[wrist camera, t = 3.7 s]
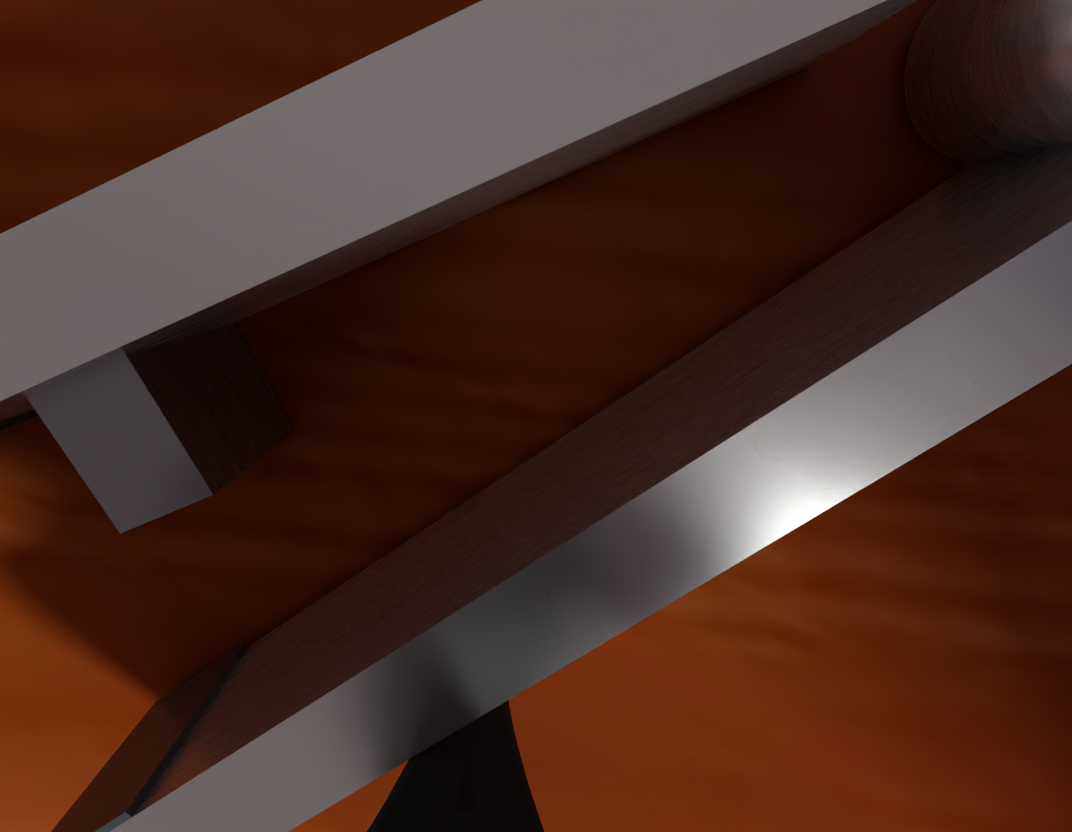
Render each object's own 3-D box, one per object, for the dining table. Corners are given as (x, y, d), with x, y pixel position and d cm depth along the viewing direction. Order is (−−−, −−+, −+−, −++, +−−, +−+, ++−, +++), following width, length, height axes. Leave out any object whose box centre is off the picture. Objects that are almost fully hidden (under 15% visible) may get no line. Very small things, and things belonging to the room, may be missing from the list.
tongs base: (1065, -178, 7) (1806, -757, 3) (1106, 134, 8) (1708, 26, 4) (-111, 372, 9) (-677, 489, 5) (42, 576, 10) (-316, 823, 5)
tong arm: (1043, -80, 7) (1399, -301, 4) (1137, 167, 8) (1491, 125, 5) (69, 621, 10) (-129, 787, 7) (214, 755, 10) (94, 955, 7)
